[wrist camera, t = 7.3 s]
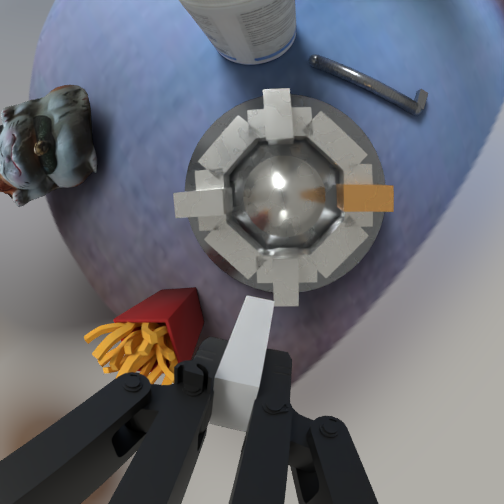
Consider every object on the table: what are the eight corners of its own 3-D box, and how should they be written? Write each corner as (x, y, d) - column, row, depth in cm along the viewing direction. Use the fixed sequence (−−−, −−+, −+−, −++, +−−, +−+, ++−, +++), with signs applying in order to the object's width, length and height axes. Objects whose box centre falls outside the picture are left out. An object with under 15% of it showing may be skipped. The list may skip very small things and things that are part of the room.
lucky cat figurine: (102, 195, 32) (7, 234, 22) (71, 176, 37) (-3, 204, 27) (101, 79, 24) (-12, 101, 14) (69, 85, 29) (-14, 105, 19)
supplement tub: (295, 6, 23) (292, -76, 9) (296, 68, 25) (296, -9, 11) (215, 8, 24) (173, -63, 10) (209, 69, 27) (152, 7, 13)
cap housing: (239, 76, 26) (227, 56, 21) (404, 155, 26) (428, 151, 20) (170, 236, 32) (146, 248, 26) (324, 309, 32) (329, 336, 26)
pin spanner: (306, 66, 25) (307, 61, 24) (316, 44, 24) (317, 38, 23) (416, 119, 25) (422, 116, 23) (423, 96, 24) (428, 92, 22)
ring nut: (175, 201, 28) (147, 208, 22) (277, 84, 23) (273, 60, 18) (288, 303, 29) (286, 332, 23) (395, 194, 24) (421, 199, 19)
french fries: (201, 279, 33) (142, 348, 19) (215, 338, 35) (174, 422, 21) (140, 284, 35) (66, 341, 20) (156, 338, 37) (100, 408, 22)
